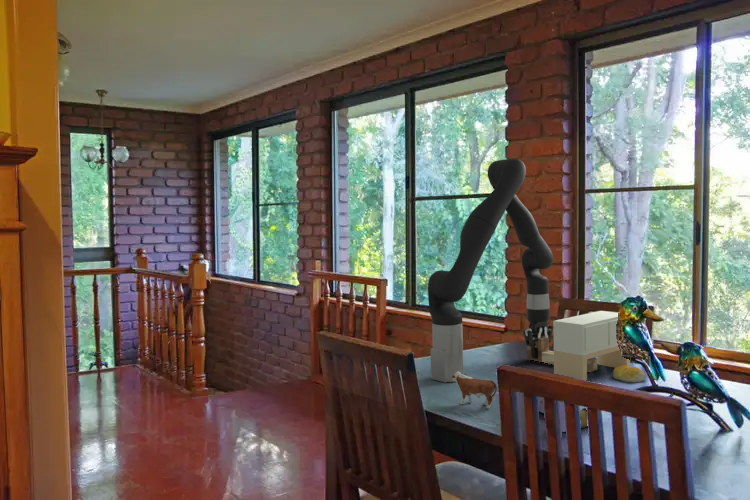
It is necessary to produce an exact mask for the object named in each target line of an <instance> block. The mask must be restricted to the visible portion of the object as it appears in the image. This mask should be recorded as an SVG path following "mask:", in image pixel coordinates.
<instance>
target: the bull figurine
mask: <svg viewBox="0 0 750 500" xmlns="http://www.w3.org/2000/svg"><path fill="white" fill-rule="evenodd" d="M452 378H453V381H455V383H456V384H457V386H458V389H459V391H460V392H461V400H460V402H459V403H458V404H459V405H460V406H462V405H464V404H465V399H466V397H467V398H468V400H467V403H468V404H470V403H473V399H472V396H477V398H478V399H480V398H481V397H482V396H483V395H484V396H485V397H486V399H485V401H484V402H483V403H482V405H483V406H486V408H485V409H486V410H489V409H490V408H491V407H492V403H493V402H494V400H495V398H496V393H497V391H498V387H497V383H496V382H495V381H494V380H491V379H480V378H474V377H471V376H467V374H466V373H463V374H461V373H460V372H459V371H458V372H456V373H455V374H454V375H452Z"/></svg>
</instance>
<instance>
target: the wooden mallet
mask: <svg viewBox="0 0 750 500" xmlns="http://www.w3.org/2000/svg"><path fill="white" fill-rule="evenodd" d="M533 338H537V337H533ZM529 342H530V341H529ZM534 344H535V340H534ZM526 348H527V349H526V354H527V355H526V357H527V359H528V360H527V361H530V360H534V361H533V362H535V361H539V362H538V363H540V362H544V363H543V364H545V363H548V364H547V365H551V364H552V366H554V350H550V343H549V337H542V336H541V337H540V339H539V341H538V347H537V348H538V358H537V359H534V358H532V356H531V347H530V346H527V345H526ZM594 371H598V358H596V357H594V358H590V359H587V373H588V372H589V373H592V372H594Z"/></svg>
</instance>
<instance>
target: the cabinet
mask: <svg viewBox="0 0 750 500" xmlns="http://www.w3.org/2000/svg"><path fill="white" fill-rule="evenodd" d="M618 313H619V312H617V311H606V310H597V311H593V312H590V313H589V312H588V313H584V314H579V315H575V316H570V317H565V318H562V319H561V318H560V319H557V320H553V321H552V323H553V325H552V326H553V332H552V338H553V351H554V365H553V375H554V374H559V375H564V376H569V377H574V378H577V379H583V380H587V381H588V372H587V359H590V358H596V357H597V366H605V367H608V368H609V367H610V368H614V369H615V368H616V367H618V366H622V365H627V366H630V367H631V359H630V360H629V359H626V358H624V357H622V356H621V353H620V349H619V347H618V344H617V339H616V324H617V320H618Z"/></svg>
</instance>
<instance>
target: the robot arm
mask: <svg viewBox="0 0 750 500" xmlns="http://www.w3.org/2000/svg"><path fill="white" fill-rule="evenodd" d="M526 173H527V167H526V165H525V163H524V161H522V160H521V159H518V158H507V159H497V160H494V161H493V162H491V163H490V164H489V166H488V168H487V179H488V181H489V183H490V185H491V187H492V189H493V190H492V191H491V193H490V194H489V195H488V196H487V197H486V198H485V199H484V200H482V202H480V203H479V204H478V205H477V206H476V207H474V209H473V210H472V211H471V213H470V214H469V215H468V217H467V219H466V221H465V223H464V225H463V227H462V229H461V232H460V238H459V239H460V240H459V253H458V256H457V258H456V260H455V262H454V263H453V266H452V267H451V269H450V270H444V269H443V270H436V271H434V272H433V273H432V274H431V275H430V277H429V279H428V284H427V296H428V297H427V299H428V311H429V315H430V317H431V323H432V324H431V325H432V327H431V329H432V334H431V335H432V348H430V352H429V353H430V379H431V380H434V381H439V382H442V383H451V382H452V383H454V382H455V381H453V378H452V375H454V374H455V373H456V372H458V371H459V372H460V373H461V374H464V343H463V342H464V339H463V336H464V335H463V314H462V312H460V310H458V308H457V307H456V306H455V303H456V302H459V301H460V300H461V299H463V298H464V297H465V294H466V293H467V291H468V288H469V286H470V283H471V281H472V278H473V276H474V275H475V274H474V273H475V271H476V269H477V265H478V264H479V262H480V261H481V258H482V256H483V254H484V252H485V250H486V248H487V246H488V244H489V242H490V241H491V239H492V237H493V235H494V233H495V231H496V229H497V227H498V225H499V223H500V221H501V220H502V218H503V216H504V214H505V211H506V214H507V215H508V217H509V219H510V221H511V223H512V226H513V228H514V231H515V233H516V236H517V238H518V242H519V244H520V245H522V247H523V246H524V247H526V248H525V249H524V251H523V253H522V255H521V266H522V269H523V272H524V276H525V280H526V321H528V322H529V325H528V328H527V329H523V330H522V333H523V336H524V340H525V344H526V347H527V346H530V347H531V356H532V358H534V359H537V358H538V348H537V347H538V341H539V339H540V337H541V336H542V337H549V344H551V341H552V338H553V325H551V324H548V322H549V321H550V320H551V314H550V313H551V312H550V311H551V310H550V306H551V305H550V295H549V289H550V288H549V279H548V277H546V276H544V275H542V274H541V272H540V270H547V269H549V268H550V267H551V266H552V265H553V262H554V255H553V251H552V250H551V248H550V247H549V245H548V244H547V242H546V241H545V239H544V238H543V237H542V235H541V234H540V232H539V228H538V226H537V223H536V220H535V219H534V217H533V215H532V213H531V212H530V211H529V210H528V208H527V207H526V206H525V205H524V204H523V203H522V201H521V200H520V198H519V197H518V196H517V192H518V191H519V189H520V188H521V186H522V184H523V183H524V181H525V178H526V175H527V174H526ZM533 337H537V338H533ZM534 340H535V344H534ZM529 341H530V342H529ZM455 383H456V382H455Z"/></svg>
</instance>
